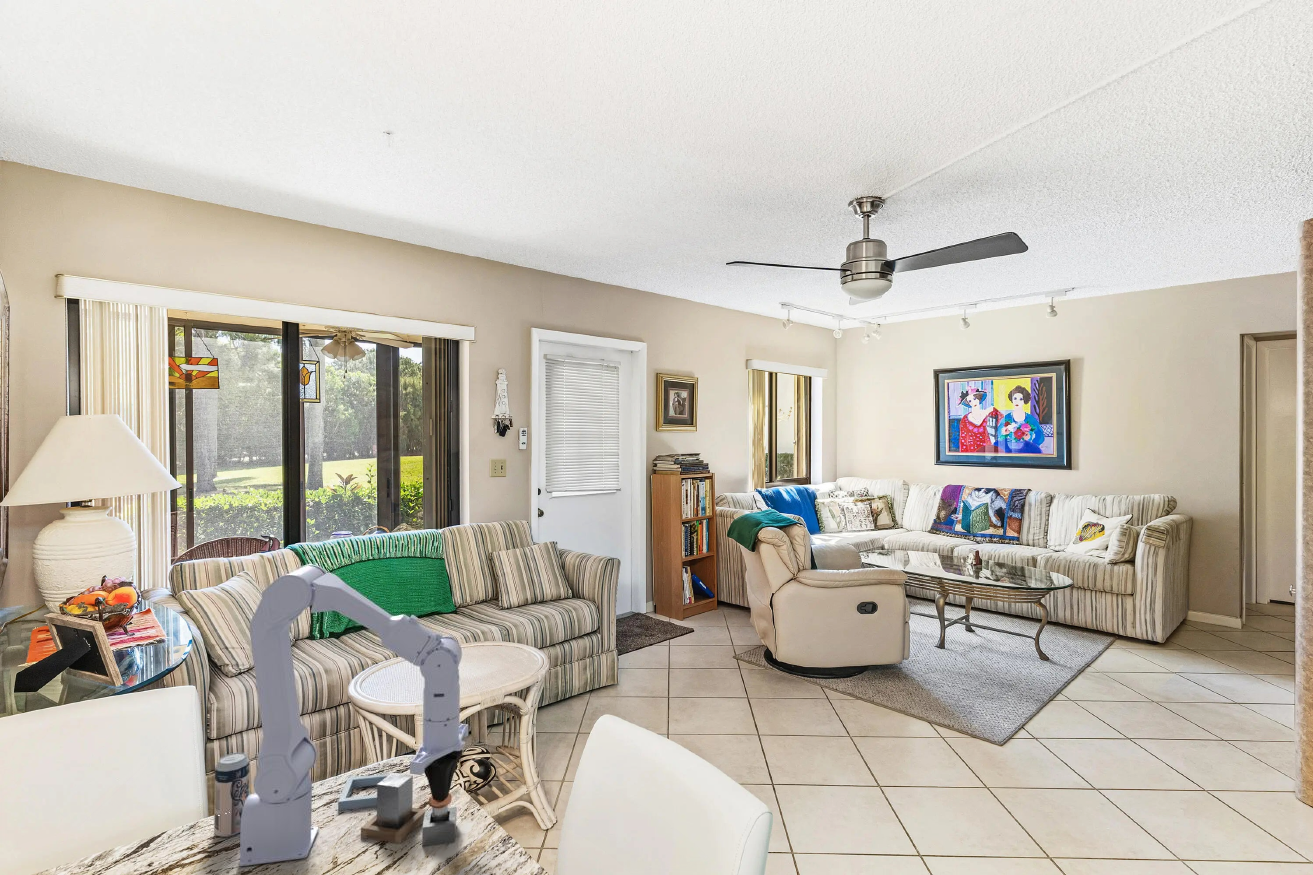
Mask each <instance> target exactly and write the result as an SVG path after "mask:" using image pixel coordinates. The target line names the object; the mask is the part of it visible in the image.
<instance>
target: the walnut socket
mask: <svg viewBox="0 0 1313 875" xmlns="http://www.w3.org/2000/svg"><path fill="white" fill-rule="evenodd" d="M427 810H428V809H424V808H420V807H419V808H418V807H412V818H411V819H410V820H409V821H408V822H407V823H406V824H405V825H404V826H403V827H402V828H401V829H400V830H397V829H391V828H384V827H378V826H377V813H376V814H375V815H373V817H372V818H370V820H368V821H367V822H366V823H364V825H362V826H361V827H360V838H365V839H369V840H370V839H372V840H377V841H383V842H389V843H396V844H402V843H403V842H405V840H407V838H408V837H409V836H411V835H412V834H413V833H414V832H415V831H416V830H417V829H418V828H419V827H420V826H421V825H423V821H424V816H425V811H427Z"/></svg>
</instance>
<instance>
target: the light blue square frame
mask: <svg viewBox="0 0 1313 875" xmlns="http://www.w3.org/2000/svg"><path fill="white" fill-rule="evenodd" d="M391 773H392V772H390V773H381V774H372V775H362V776H352V777H351V776H350V777H348V778H347V780H346V783H345V785H344V787H343V790H342V792H341V794H340V796H339V798H338V801H337V811H345V810H352V809H361V808H369V807H372V808H373V807H377V794H372V795H369V794H368V795H363V796H362V795H361V796H353V797H350V796H351V794H352V791H353V789H354V788H356V789H357V788H363V787H365V788H366V787H373V786H377V784H378V783H379V782H381V781H382V780H383V779H385V778H386V777H387V776H388V775H390V774H391Z"/></svg>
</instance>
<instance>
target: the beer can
mask: <svg viewBox="0 0 1313 875" xmlns="http://www.w3.org/2000/svg"><path fill="white" fill-rule="evenodd" d="M249 795H250V758H249V757H248V756H247V754H246V753H245V752H233V753H229V754H226V755H223V756H221V757H220V758H219V760H218V761H217V763H216V765H215V767H214V812H213V813H214V816H213V817H214V819H213V832H214V835H215V836H216V837H222V838H229V837H234V836H237V835H238V834H241V816H242V811H243V807H244V803H245V801H246V799H247V797H248V796H249ZM229 812H230V813H229ZM225 813H227V814H225ZM218 815H220V816H218Z"/></svg>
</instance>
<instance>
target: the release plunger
mask: <svg viewBox="0 0 1313 875" xmlns="http://www.w3.org/2000/svg"><path fill="white" fill-rule="evenodd" d="M451 803H452V794H451V793H449V794H448V797H447V798H446V799H445V800H444V801H441V800H435V799H433V797H432V795H430V796H429V797H428V806H429V807H431V810H432V822H433V823H436V822H444V821H446V820H447V819H448V808H449V807H448V806H449V805H450V804H451Z"/></svg>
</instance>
